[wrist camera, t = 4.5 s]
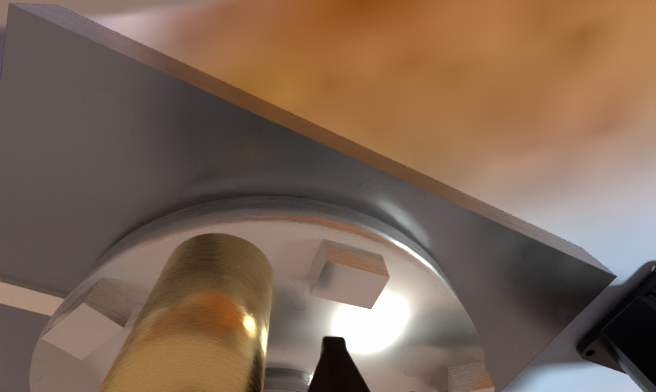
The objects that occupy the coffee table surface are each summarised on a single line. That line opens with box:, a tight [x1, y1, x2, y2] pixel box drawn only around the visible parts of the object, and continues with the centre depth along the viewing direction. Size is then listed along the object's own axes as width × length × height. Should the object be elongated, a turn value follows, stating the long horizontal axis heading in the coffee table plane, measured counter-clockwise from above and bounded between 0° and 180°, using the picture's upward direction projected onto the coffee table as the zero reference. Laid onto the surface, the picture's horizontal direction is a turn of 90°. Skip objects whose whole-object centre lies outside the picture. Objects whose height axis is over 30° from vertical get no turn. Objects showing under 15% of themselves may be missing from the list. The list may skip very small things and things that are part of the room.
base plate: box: [0, 3, 617, 392], centre depth 16 cm, size 22×19×2 cm
